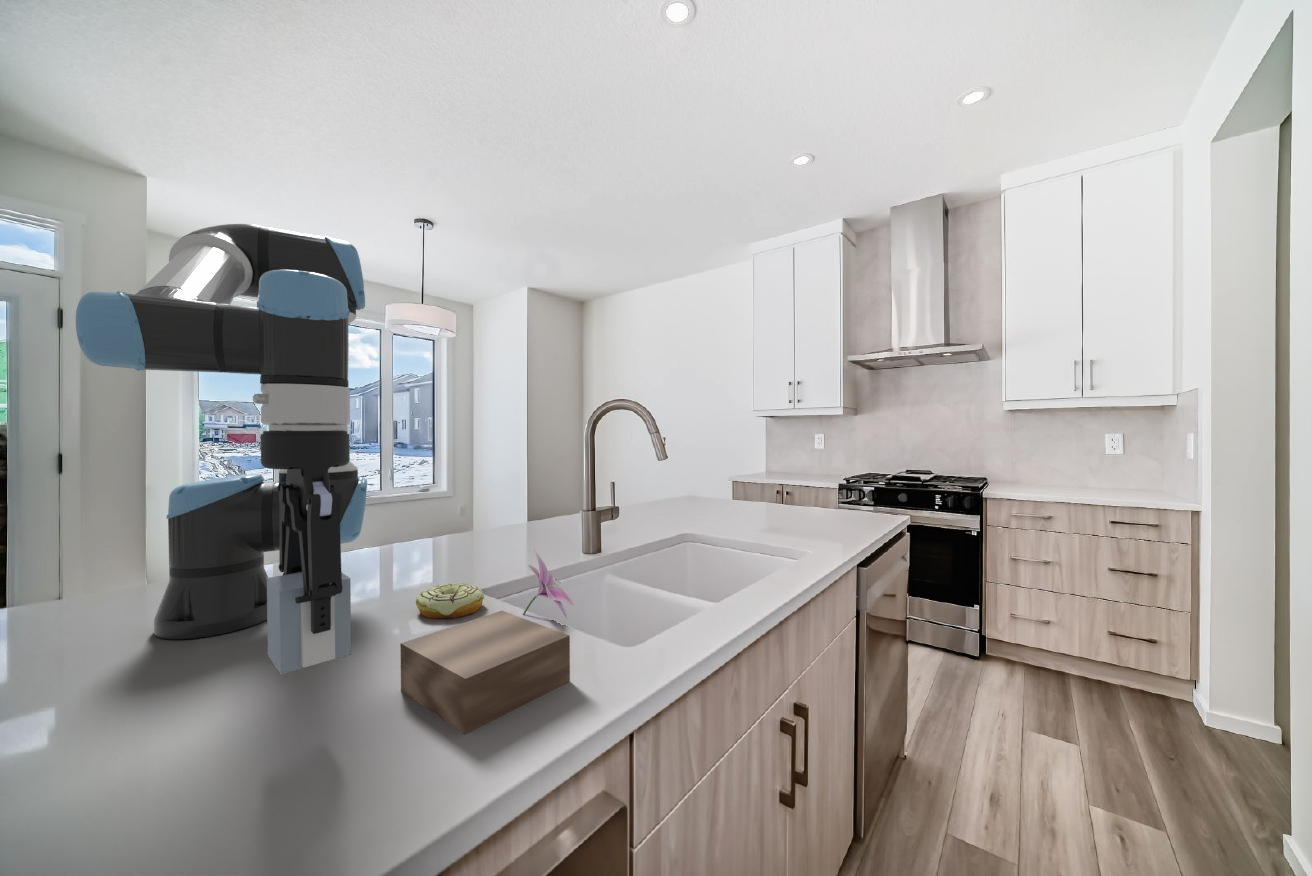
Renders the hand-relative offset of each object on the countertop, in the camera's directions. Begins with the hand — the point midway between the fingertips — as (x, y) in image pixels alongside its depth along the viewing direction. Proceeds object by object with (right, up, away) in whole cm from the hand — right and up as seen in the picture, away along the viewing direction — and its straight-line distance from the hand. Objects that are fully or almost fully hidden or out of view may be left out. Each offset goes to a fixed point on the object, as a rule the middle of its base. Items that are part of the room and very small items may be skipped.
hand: (309, 650), depth 53 cm
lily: (+18, -8, +33) cm, 38 cm away
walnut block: (+16, -8, +9) cm, 20 cm away
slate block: (0, 0, 0) cm, 0 cm away
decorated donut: (+1, -8, +35) cm, 36 cm away
